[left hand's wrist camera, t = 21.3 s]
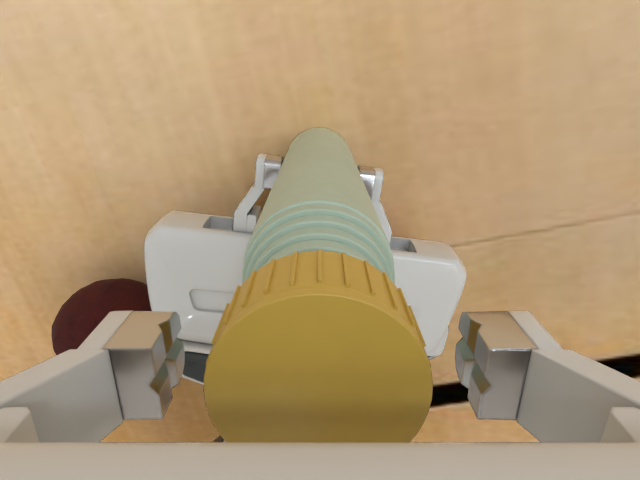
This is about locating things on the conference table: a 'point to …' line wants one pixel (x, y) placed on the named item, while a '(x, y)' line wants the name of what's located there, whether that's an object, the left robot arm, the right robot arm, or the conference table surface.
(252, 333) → the cap
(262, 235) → the bottle
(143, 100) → the conference table surface
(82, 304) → the potato
